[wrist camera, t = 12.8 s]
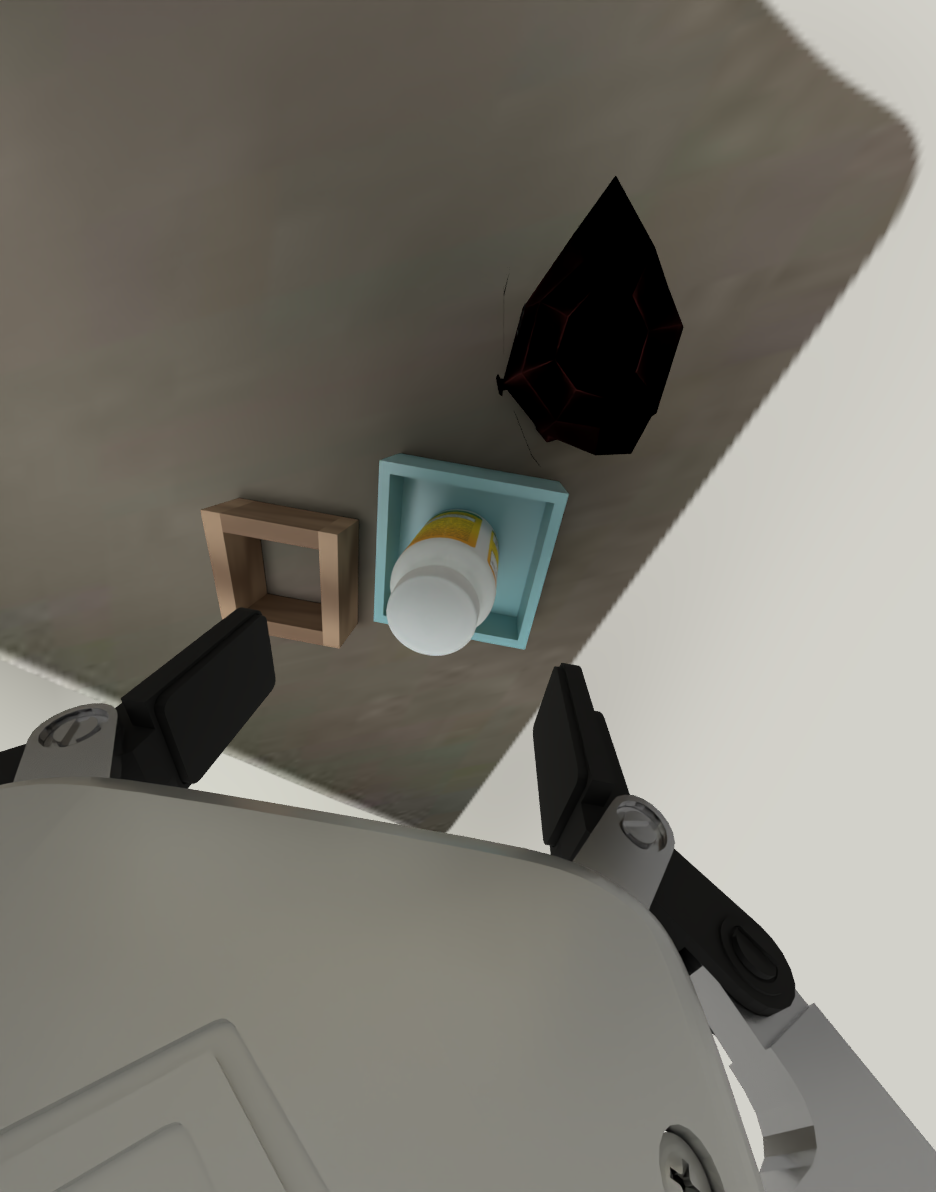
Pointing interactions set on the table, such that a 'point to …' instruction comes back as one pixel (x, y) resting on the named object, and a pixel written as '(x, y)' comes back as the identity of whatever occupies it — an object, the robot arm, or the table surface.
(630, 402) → the cat figurine
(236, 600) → the hollow wooden block
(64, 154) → the table surface
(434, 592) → the supplement bottle
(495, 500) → the tray
